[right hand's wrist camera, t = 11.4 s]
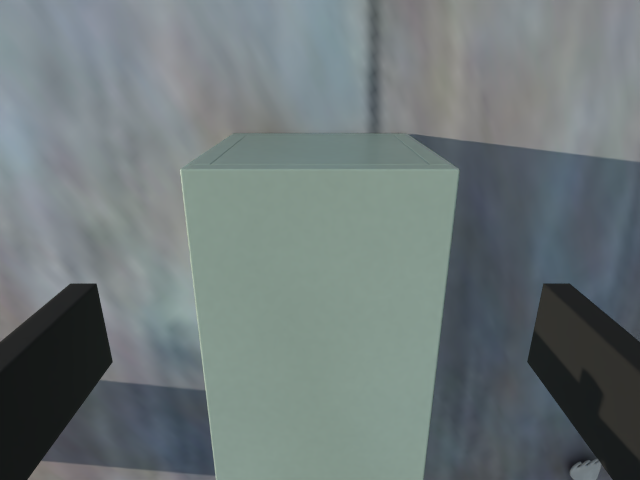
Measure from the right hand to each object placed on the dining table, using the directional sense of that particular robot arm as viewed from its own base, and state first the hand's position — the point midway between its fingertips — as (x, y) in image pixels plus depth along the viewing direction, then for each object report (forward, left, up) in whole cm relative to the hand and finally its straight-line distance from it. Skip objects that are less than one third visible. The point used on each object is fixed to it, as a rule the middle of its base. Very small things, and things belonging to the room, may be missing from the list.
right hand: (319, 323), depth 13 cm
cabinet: (+4, +6, -17) cm, 18 cm away
